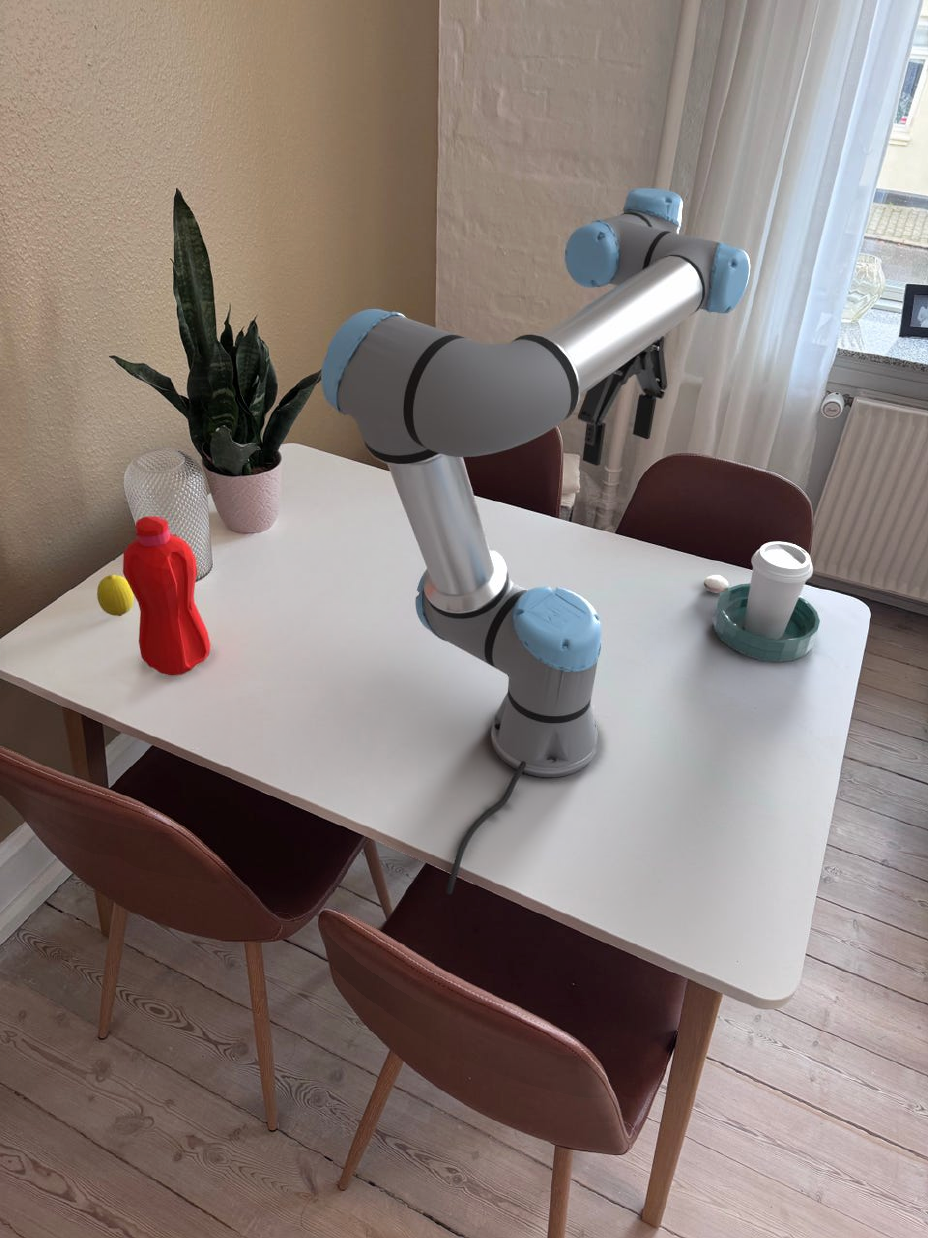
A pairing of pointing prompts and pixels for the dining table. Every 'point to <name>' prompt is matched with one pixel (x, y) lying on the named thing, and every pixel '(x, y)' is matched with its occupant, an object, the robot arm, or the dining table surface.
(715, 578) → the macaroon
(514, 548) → the dining table surface
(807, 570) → the coffee cup
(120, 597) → the lemon
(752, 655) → the bowl
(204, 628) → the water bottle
